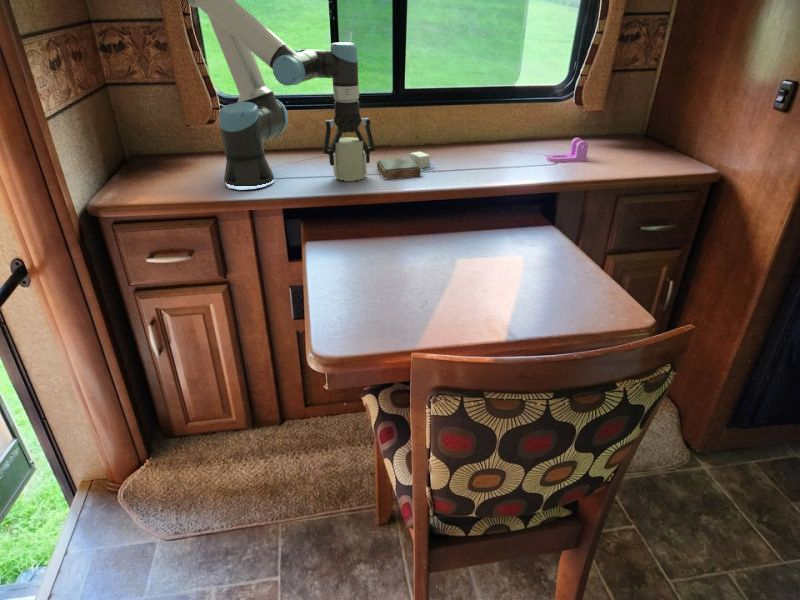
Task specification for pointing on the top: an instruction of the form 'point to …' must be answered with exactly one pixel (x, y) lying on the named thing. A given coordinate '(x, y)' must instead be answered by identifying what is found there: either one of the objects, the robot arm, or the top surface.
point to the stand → (398, 168)
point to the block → (420, 159)
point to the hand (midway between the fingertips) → (350, 173)
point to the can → (349, 159)
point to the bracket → (572, 153)
